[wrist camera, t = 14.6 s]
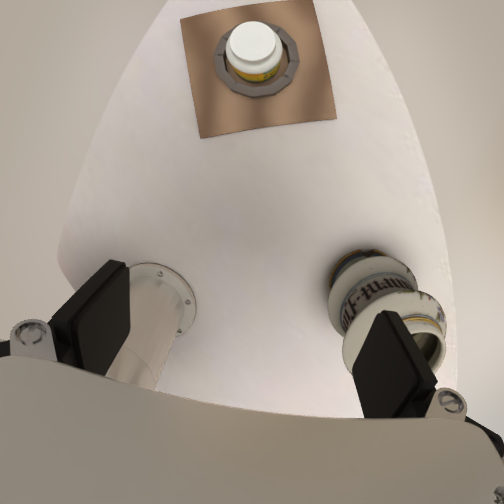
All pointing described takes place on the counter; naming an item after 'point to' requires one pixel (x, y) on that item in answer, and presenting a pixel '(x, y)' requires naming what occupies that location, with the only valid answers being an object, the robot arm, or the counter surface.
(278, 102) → the stand board
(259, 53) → the supplement bottle
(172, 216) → the counter surface
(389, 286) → the apothecary jar
